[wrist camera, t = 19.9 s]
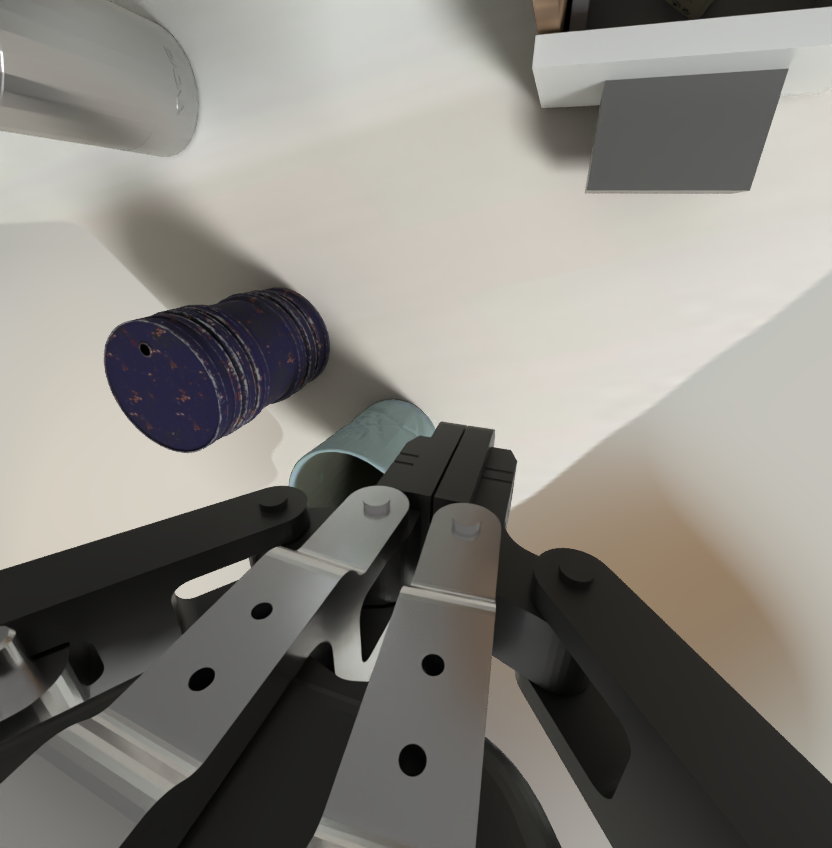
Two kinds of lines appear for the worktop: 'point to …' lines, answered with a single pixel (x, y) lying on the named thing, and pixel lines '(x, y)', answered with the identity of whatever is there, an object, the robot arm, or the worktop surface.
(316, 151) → the worktop surface
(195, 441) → the storage jar
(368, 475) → the teal planter pot
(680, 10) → the skincare box
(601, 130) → the drawer
